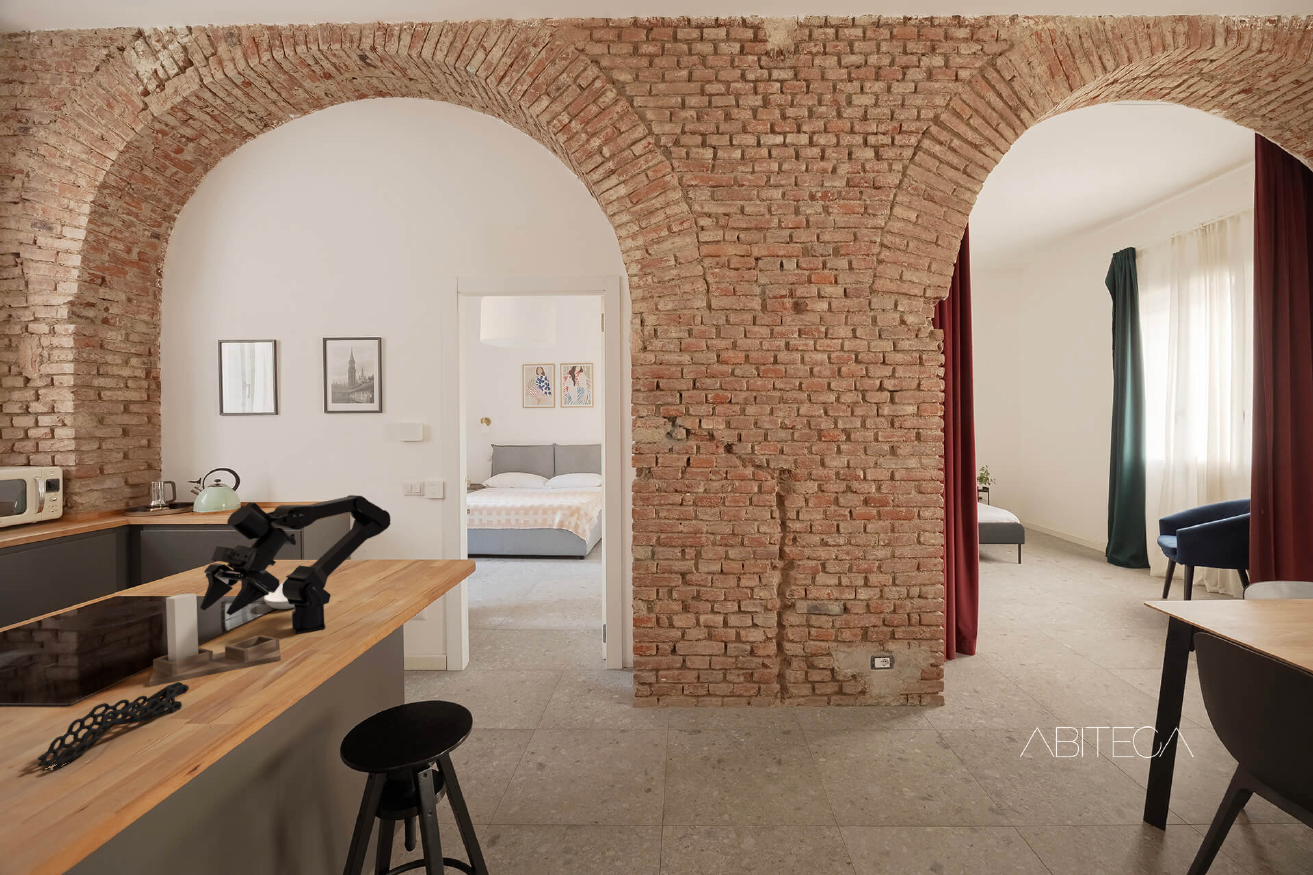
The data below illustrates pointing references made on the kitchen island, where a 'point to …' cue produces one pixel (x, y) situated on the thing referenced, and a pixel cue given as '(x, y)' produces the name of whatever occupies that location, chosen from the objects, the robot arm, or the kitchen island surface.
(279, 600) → the spoon rest
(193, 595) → the beige rectangular block
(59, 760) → the decorative element
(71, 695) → the kitchen island surface
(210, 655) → the double compartment tray
